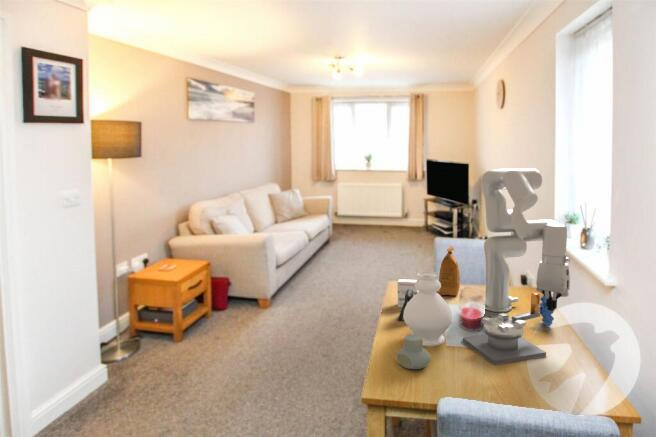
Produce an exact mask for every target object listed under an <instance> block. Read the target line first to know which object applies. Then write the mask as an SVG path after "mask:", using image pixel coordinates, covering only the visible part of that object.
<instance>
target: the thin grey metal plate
mask: <svg viewBox="0 0 656 437" xmlns="http://www.w3.org/2000/svg"><path fill="white" fill-rule="evenodd" d="M462 342H463V343H464V344H465V345H467V346H468V347H469V348H470V349H472V350H473V351H475V352H476V353H477V354H478V355H480V356H481V357H483V358H484V359H485V360H487V361H488V362H489V363H491V365H493V366H495V365H496V366H497V365H501V364H502V365H503V364H508V363H513V362H515V363H516V362H520V361H526V360H532V359H537V358H543V357H544V358H545V357H547V352H546V350H545V351H544V350H543V349H542V348H540V347H538V346H537V345H536V344H534V343H531V342H530V341H528V340H527V339H525V338H523V336H522V337H520V338H518V339H513V340H504V339H497V338H493V337H490V336H488V335H487V334H485V333H484V334H475V335H470V336H464V337H462Z"/></svg>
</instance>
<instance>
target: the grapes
mask: <svg viewBox="0 0 656 437" xmlns="http://www.w3.org/2000/svg"><path fill="white" fill-rule="evenodd" d="M546 302H547V299H546V298H545V296H544V295H543V294H542V296H540V311H539V312H540V317H542V318H541V321H542V323H543V324H544V325H545V326H546V327H548V328H549V327H551V326H552V325H553V321H554V320H555V318H554V317H553V313H554V312H555V310H553V311H550V310H547V307H546Z"/></svg>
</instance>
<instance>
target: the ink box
mask: <svg viewBox="0 0 656 437" xmlns="http://www.w3.org/2000/svg"><path fill="white" fill-rule="evenodd" d="M417 280H418V279H404V278H402V279H401V278H399V279H398V280H397V307H398V308H402V307H403V304H404V302H405V294H406V291H407V290H408V289H409V291H408V295H410V291H411V289H412V290H413V292H414V294H413V296H415V295H416V294H417V293H418V292H419V291H418V290H417V289H416V288H415V282H416V281H417ZM407 304H408V302H407Z"/></svg>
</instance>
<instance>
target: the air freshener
mask: <svg viewBox="0 0 656 437" xmlns="http://www.w3.org/2000/svg"><path fill="white" fill-rule="evenodd" d="M403 340H404V342H403V343H404V344H403V347H402V348H400V349H399V350H398V352H397V354H396V360H397V362H398V363H399V364H400V365H401V366H402V367H403V368H406V369H407V370H420V369H423V368H425V367H427V366H428V365H429V363H430V362H431V354H430V353H429V352H428V350H427V349H425V348H424V347H423V346H422V337H421V336H420V335H417V334H414V333H409V334H406V335H405V336H404V339H403Z"/></svg>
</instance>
